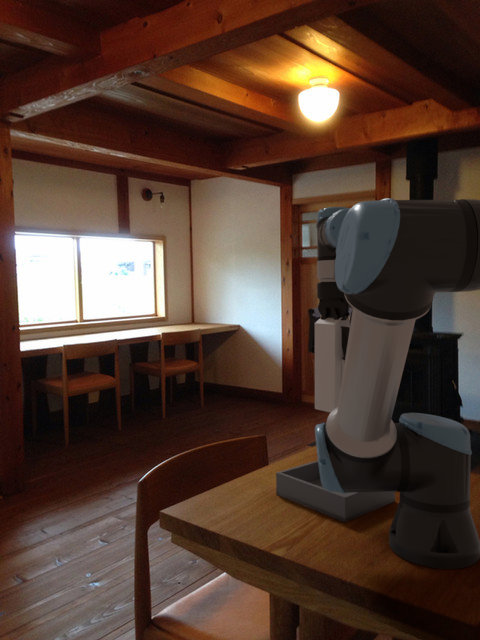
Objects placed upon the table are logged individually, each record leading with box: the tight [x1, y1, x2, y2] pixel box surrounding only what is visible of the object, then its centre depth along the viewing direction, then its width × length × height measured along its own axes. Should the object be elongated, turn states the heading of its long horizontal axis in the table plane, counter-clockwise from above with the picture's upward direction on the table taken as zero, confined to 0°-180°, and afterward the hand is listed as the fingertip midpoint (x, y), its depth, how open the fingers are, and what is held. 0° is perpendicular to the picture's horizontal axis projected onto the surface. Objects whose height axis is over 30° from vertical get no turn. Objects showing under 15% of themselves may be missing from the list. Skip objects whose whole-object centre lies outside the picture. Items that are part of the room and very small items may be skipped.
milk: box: [314, 317, 350, 414], centre depth 119 cm, size 6×6×22 cm
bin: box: [275, 459, 396, 523], centre depth 121 cm, size 20×17×5 cm
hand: (334, 387), depth 120 cm, fingers closed on milk, 6 cm apart
